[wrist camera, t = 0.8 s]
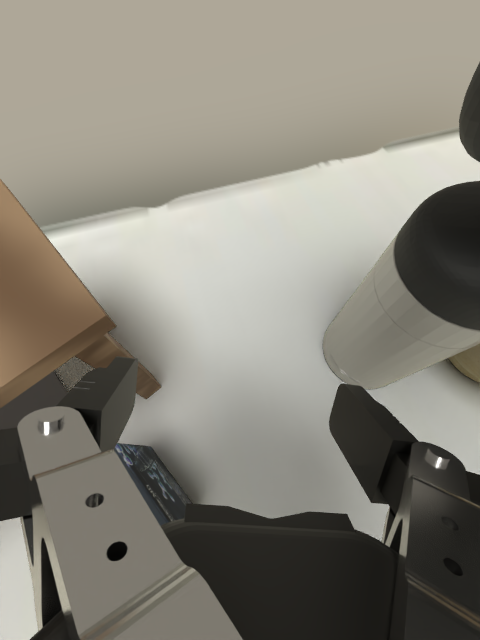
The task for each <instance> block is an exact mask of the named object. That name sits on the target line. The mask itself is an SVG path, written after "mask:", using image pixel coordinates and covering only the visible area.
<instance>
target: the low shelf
mask: <svg viewBox="0 0 480 640" xmlns="http://www.w3.org/2000/svg"><path fill="white" fill-rule="evenodd" d="M115 327H116V325H115V323H114V322H113V321H112V320H111V318H110V317H109V316H108V315H107V313H106V312H105V311H104V309H103V308H102V307H101V306H100V304H99V303H98V302H97V301H96V299H95V298H94V297H93V295H92V294H91V293H90V292H89V290H88V289H87V288H86V287H85V285H84V284H83V283H82V281H81V280H80V279H79V278H78V276H77V275H76V274H75V273H74V271H73V270H72V269H71V267H70V266H69V265H68V264H67V262H66V261H65V260H64V259H63V257H62V256H61V255H60V253H59V252H58V251H57V250H56V248H55V247H54V246H53V245H52V243H51V242H50V241H49V239H48V238H47V237H46V236H45V234H44V233H43V232H42V231H41V229H40V228H39V227H38V226H37V224H36V223H35V222H34V220H33V219H32V218H31V217H30V215H29V214H28V213H27V212H26V211H25V209H24V208H23V206H22V205H21V204H20V203H19V201H18V200H17V199H16V197H15V196H14V195H13V194H12V192H11V191H10V190H9V189H8V187H7V186H6V185H5V184H4V183H3V182H2V180H1V179H0V408H2V407H3V406H4V405H6V404H7V403H9V402H10V401H12V400H13V399H14V398H16V397H17V396H19V395H20V394H21V393H23V392H24V391H26V390H27V389H29V388H30V387H31V386H33V385H34V384H36V383H37V382H38V381H40V380H41V379H43V378H44V377H46V376H47V375H48V374H50V373H51V372H53V371H54V370H55V369H57V368H58V367H60V366H61V365H62V364H64V363H65V362H67V361H68V360H70V359H71V358H72V357H74V356H75V357H77V358H79V359H80V360H82V361H84V362H85V363H87V364H89V365H90V366H92V367H94V368H95V369H97V368H99V367H101V368H107V367H108V366H109V365H110V363H111V362H112V361H113V360H114V359H115V357H116V356H119V357H127V358H134V357H133V356H132V355H131V354H130V353H129V352H128V351H127V350H126V349H124V348H123V347H122V346H121V345H120V344H119V343H118V342H117V341H116V340H115V339H114V338H113V337H112V336H111V335H110V334H109V333H108V332H109V331H111V330H112V329H113V328H115ZM160 388H161V386H160V384H159V383H158V382H157V380H156V379H155V378H154V377H153V375H152V374H151V373H150V372H149V371H148V370H147V369H146V368H145V367H144V366H143V365H141V364H140V363H139V362H138V372H137V384H136V393H137V394H139V395H140V396H142V397H144V398H145V399H147V398H149V397H150V396H151V395H152V394H153V393H155V392H156V391H157V390H158V389H160Z"/></svg>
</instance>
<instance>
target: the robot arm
mask: <svg viewBox="0 0 480 640" xmlns="http://www.w3.org/2000/svg"><path fill="white" fill-rule="evenodd" d="M459 133H460V140H461V142H462V144H463V146H464V148H465V149H466V151H467V153H468V154H469V155H470V156H471V157H473V158H474V159H476V160H477V161H479V162H480V63H479V65H478V67H477V69H476V71H475V73H474V75H473V77H472V80H471V82H470V85H469V87H468V90H467V92H466V95H465V98H464V102H463V106H462V110H461V114H460V119H459ZM478 344H480V181H474V182H466V183H461V184H456V185H453V186H450V187H447V188H444V189H442V190H440V191H438V192H436V193H435V194H433V195H431V196H430V197H429V198H427V199H426V200H425V201H424V202H423V203H422V204H421V205H420V206H419V207H418V208H417V209H416V210H415V211H414V212H413V214H412V215H411V216H410V218H409V219H408V220H407V222H406V223H405V224H404V226H403V227H402V228H401V230H400V231H399V233H398V234H397V235H396V237H395V238H394V239H393V241H392V242H391V243H390V245H389V246H388V247H387V249H386V250H385V251H384V253H383V254H382V256H381V257H380V259H379V260H378V261H377V263H376V264H375V265H374V267H373V268H372V269H371V271H370V272H369V273H368V275H367V276H366V277H365V279H364V280H363V281H362V283H361V284H360V285H359V287H358V288H357V289H356V291H355V292H354V294H353V295H352V296H351V298H350V299H349V300H348V302H347V303H346V304H345V306H344V307H343V308H342V310H341V311H340V312H339V313H338V315H337V316H336V318H335V319H334V320H333V322H332V323H331V324H330V326H329V327H328V329H327V330H326V332H325V335H324V339H323V352H324V356H325V359H326V361H327V363H328V365H329V367H330V369H331V370H332V371H333V372H334V373H335V374H336V376H338V377H339V378H340V379H341V380H343V381H344V382H346V383H348V384H340V385H339V387H338V390H337V393H336V397H335V400H334V404H333V408H332V411H331V415H330V419H329V427H330V432H331V434H332V436H333V437H334V439H335V441H336V443H337V444H338V446H339V448H340V450H341V451H342V453H343V455H344V456H345V458H346V460H347V462H348V463H349V465H350V467H351V468H352V470H353V472H354V474H355V475H356V477H357V479H358V481H359V482H360V484H361V486H362V487H363V489H364V491H365V493H366V494H367V496H368V498H369V500H370V501H371V503H381V504H389V506H390V507H389V509H388V512H387V515H386V519H385V524H384V530H383V535H382V540H381V541H379V540H377V539H375V538H373V537H371V536H369V535H367V534H365V533H362V532H360V531H357V530H354V528H353V526H352V524H351V521H350V519H349V517H348V515H347V514H338V513H323V512H305V513H300V514H295V515H290V516H285V517H280V518H274V519H270V518H265V517H262V516H259V515H255V514H252V513H249V512H245V511H242V510H239V509H235V508H232V507H229V506H216V505H201V504H186V509H185V516H184V519H179V520H175V521H171V522H168V523H165V524H163V525H161V526H160V525H159V523H158V522H157V520H156V518H155V517H154V515H153V513H152V512H151V510H150V508H149V507H148V505H147V503H146V502H145V500H144V498H143V497H142V495H141V493H140V492H139V490H138V488H137V487H136V485H135V483H134V482H133V480H132V479H131V477H130V475H129V474H128V472H127V470H126V469H125V467H124V465H123V464H122V462H121V460H120V459H119V457H118V455H117V454H116V452H115V451H114V448H115V446H116V444H117V442H118V440H119V438H120V436H121V434H122V432H123V430H124V428H125V426H126V424H127V422H128V419H129V417H130V415H131V413H132V410H133V407H134V403H135V396H136V384H137V372H138V359H136V358H127V357H119V356H116V357H115V359H114V360H113V361H112V362H111V363H110V365H109V366H108V367H107V368H101V367H99V368H97V369H94V370H92V371H90V372H88V373H87V374H86V375H85V376H84V377H83V378H82V379H81V380H80V382H78V383H77V384H76V385H75V386H74V388H72V389H71V390H70V392H69V393H68V394H67V395H66V396H65V397H64V398H63V399H62V400H61V401H60V402H59V403H58V404H57V405H56V406H55V407H48V408H43V409H40V410H37V411H34V412H32V413H30V414H28V415H27V416H25V417H24V418H23V419H22V420H21V421H20V422H19V424H18V427H16V428H10V429H1V430H0V521H3V520H8V519H12V518H17V517H20V518H21V524H22V530H23V535H24V540H25V546H26V551H27V556H28V562H29V567H30V572H31V577H32V583H33V591H34V601H35V611H36V619H37V626H38V632H37V633H36V634H35V635H34V636H33V637H32V638H31V639H30V640H480V475H478V474H475V473H471V472H468V471H465V467H464V465H463V464H462V462H461V461H460V460H459V459H458V458H456V457H455V456H454V455H453V454H451V453H450V452H448V451H446V450H444V449H443V448H441V447H438V446H436V445H433V444H430V443H426V442H419V441H418V440H417V439H416V438H415V437H414V436H413V435H412V434H411V433H410V432H409V431H408V430H407V429H406V428H405V427H404V426H403V425H402V424H401V423H399V421H398V420H397V419H396V418H395V417H394V416H393V415H392V414H391V413H390V412H389V411H388V410H387V409H386V408H385V407H384V406H383V405H381V404H380V403H378V402H377V401H375V400H374V399H373V398H372V397H371V396H370V395H369V394H368V393H367V391H366V390H365V389H377V388H381V387H383V386H386V385H388V384H391V383H393V382H395V381H397V380H400V379H402V378H405V377H407V376H409V375H411V374H413V373H416V372H418V371H420V370H422V369H425V368H427V367H429V366H431V365H434V364H436V363H438V362H440V361H443V360H445V359H447V358H449V357H452V356H454V355H456V354H458V353H460V352H463V351H465V350H467V349H469V348H472V347H474V346H476V345H478Z"/></svg>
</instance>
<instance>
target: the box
mask: <svg viewBox="0 0 480 640" xmlns="http://www.w3.org/2000/svg"><path fill="white" fill-rule="evenodd" d="M114 451H115V452H116V454H117V455H118V457H119V459H120V460H121V462H122V464H123V465H124V467H125V469H126V470H127V472H128V474H129V475H130V477H131V479H132V480H133V482H134V483H135V485H136V487H137V488H138V490H139V492H140V493H141V495H142V497H143V498H144V500H145V502H146V503H147V505H148V507H149V508H150V510H151V512H152V513H153V515H154V517H155V518H156V520H157V522H158V523H159V525H160V526H161V525H163V524H165V523H168V522H171V521H175V520H179V519H184V516H185V509H186V504H192V502H191V501H190V500H189V498H188V497H187V496H186V494H185V493H184V492H183V490H182V489H181V487H180V486H179V485H178V483H177V482H176V481H175V479H174V478H173V477H172V475H171V474H170V473H169V471H168V470H167V469H166V467H165V466H164V465H163V463H162V462H161V460H160V459H159V458H158V456H157V455H156V453H155V452H154V451H153V449H152V448H151V447H149V446H139V445H130V444H119V443H117V444H116V446H115V448H114Z"/></svg>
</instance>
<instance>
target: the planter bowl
mask: <svg viewBox="0 0 480 640" xmlns="http://www.w3.org/2000/svg"><path fill="white" fill-rule="evenodd" d="M449 360H450V361H451V362H452V364H453V365H454V366H455V367H456V368H457V369H458V370H459V371H460V372H462V373H463V374H464V375H466V376H467V377H469V378H471V379H472V380H474V381H476V382H479V383H480V344H478V345H476V346H474V347H472V348H469V349H467V350H465V351H463V352H460V353H458V354H456V355H454V356H452V357H449Z"/></svg>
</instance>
